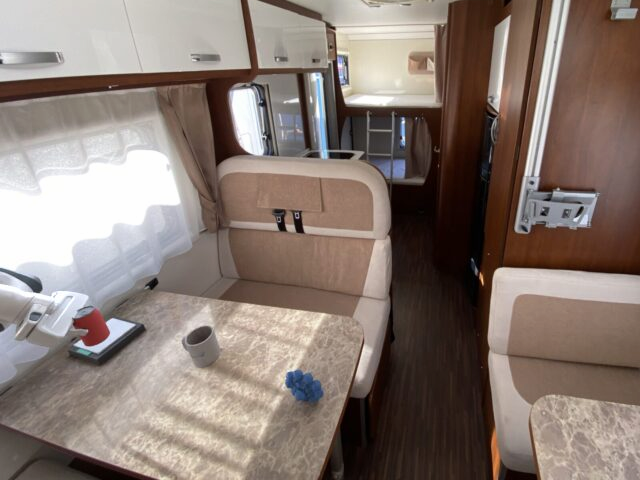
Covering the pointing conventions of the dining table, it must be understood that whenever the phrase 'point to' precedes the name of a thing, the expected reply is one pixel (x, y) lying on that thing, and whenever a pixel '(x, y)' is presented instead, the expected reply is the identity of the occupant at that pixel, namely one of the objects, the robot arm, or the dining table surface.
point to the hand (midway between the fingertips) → (92, 323)
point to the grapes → (303, 386)
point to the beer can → (91, 325)
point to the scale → (108, 341)
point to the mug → (202, 345)
